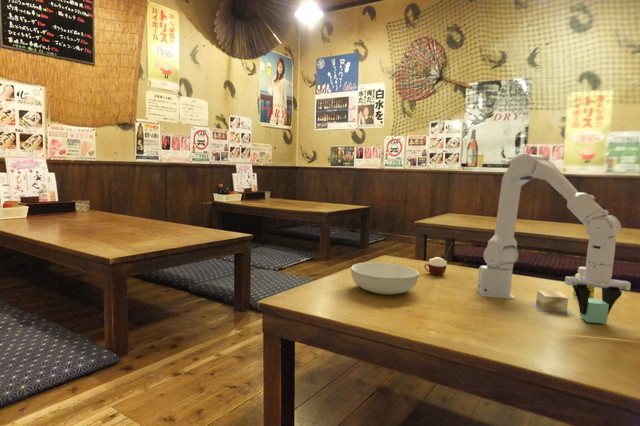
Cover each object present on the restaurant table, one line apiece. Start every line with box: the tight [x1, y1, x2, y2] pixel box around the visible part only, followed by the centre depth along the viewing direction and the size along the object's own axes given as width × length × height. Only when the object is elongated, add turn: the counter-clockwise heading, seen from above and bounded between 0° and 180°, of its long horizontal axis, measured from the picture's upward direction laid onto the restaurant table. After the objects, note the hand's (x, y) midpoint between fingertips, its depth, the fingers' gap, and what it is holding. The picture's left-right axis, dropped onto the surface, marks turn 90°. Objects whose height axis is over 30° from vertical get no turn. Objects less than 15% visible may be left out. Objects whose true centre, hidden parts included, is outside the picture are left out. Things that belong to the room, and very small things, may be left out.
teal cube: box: [579, 297, 609, 325], centre depth 108 cm, size 4×4×5 cm
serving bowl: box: [350, 261, 420, 296], centre depth 130 cm, size 21×21×7 cm
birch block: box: [535, 289, 569, 312], centre depth 118 cm, size 6×6×4 cm
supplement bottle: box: [572, 266, 595, 299], centre depth 129 cm, size 5×5×10 cm
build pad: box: [528, 300, 576, 316], centre depth 118 cm, size 9×9×1 cm
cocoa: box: [423, 242, 454, 276], centre depth 152 cm, size 10×6×12 cm, turn 58°
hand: (593, 314), depth 108 cm, fingers closed on teal cube, 4 cm apart
